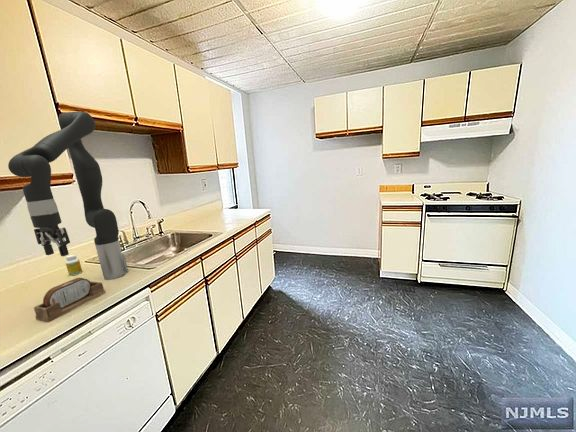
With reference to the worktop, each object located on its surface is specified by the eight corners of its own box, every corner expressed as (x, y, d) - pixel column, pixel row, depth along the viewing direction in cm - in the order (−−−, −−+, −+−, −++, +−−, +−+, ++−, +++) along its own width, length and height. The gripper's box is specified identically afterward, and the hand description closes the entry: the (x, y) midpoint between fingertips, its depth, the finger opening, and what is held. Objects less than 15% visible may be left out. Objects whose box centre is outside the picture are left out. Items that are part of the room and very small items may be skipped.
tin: (90, 292, 104) (84, 273, 102) (95, 293, 103) (90, 274, 101) (46, 313, 90) (39, 292, 89) (51, 314, 89) (44, 293, 88)
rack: (36, 319, 90) (32, 307, 89) (94, 291, 108) (91, 281, 107) (48, 322, 87) (44, 310, 86) (105, 292, 106) (102, 282, 105)
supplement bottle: (71, 276, 126) (66, 258, 124) (67, 274, 129) (62, 257, 127) (84, 272, 130) (79, 254, 128) (80, 270, 133) (75, 253, 131)
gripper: (18, 215, 89) (33, 258, 92) (44, 214, 84) (58, 260, 88) (44, 210, 96) (57, 250, 99) (69, 210, 91) (81, 252, 95)
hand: (57, 255), depth 94 cm, fingers open, 8 cm apart
